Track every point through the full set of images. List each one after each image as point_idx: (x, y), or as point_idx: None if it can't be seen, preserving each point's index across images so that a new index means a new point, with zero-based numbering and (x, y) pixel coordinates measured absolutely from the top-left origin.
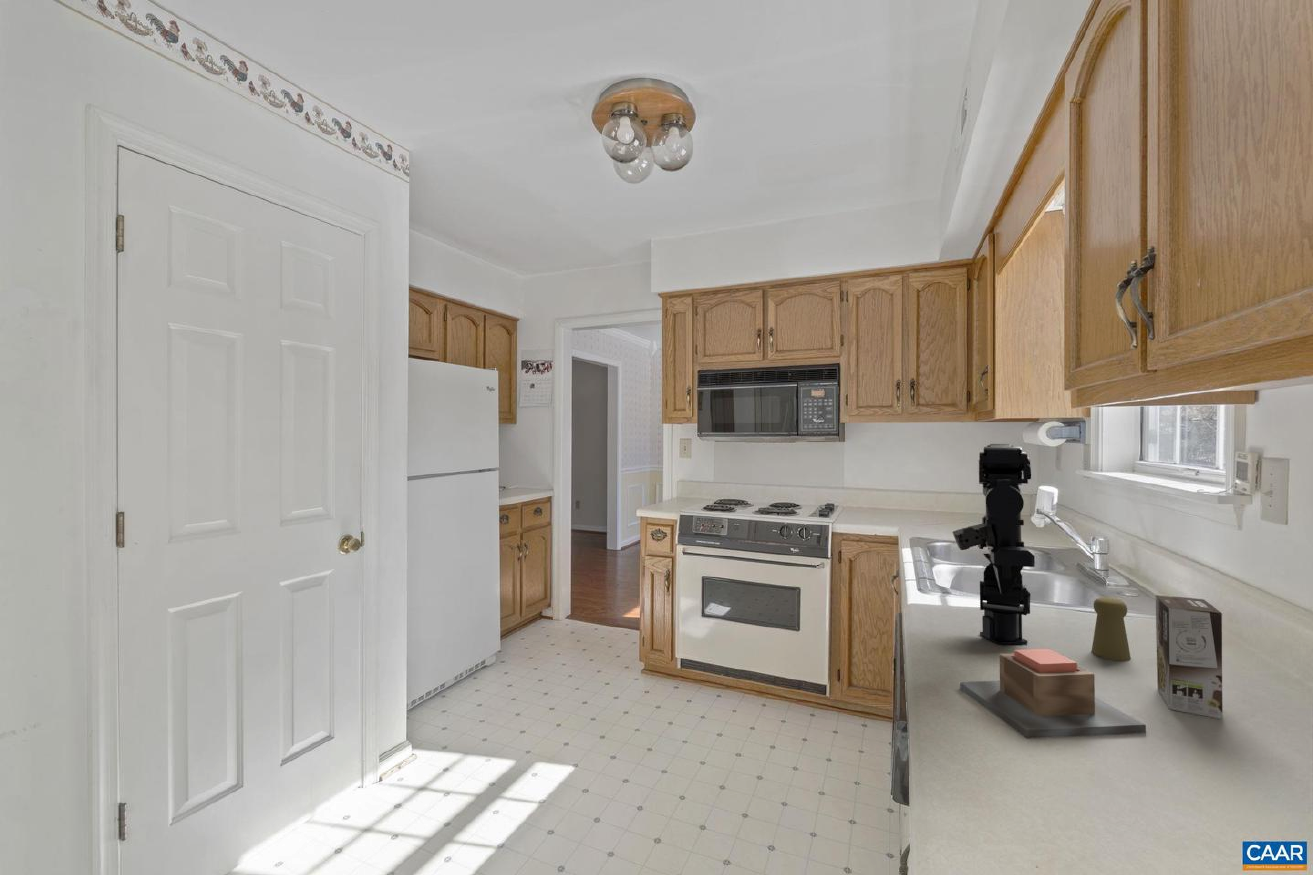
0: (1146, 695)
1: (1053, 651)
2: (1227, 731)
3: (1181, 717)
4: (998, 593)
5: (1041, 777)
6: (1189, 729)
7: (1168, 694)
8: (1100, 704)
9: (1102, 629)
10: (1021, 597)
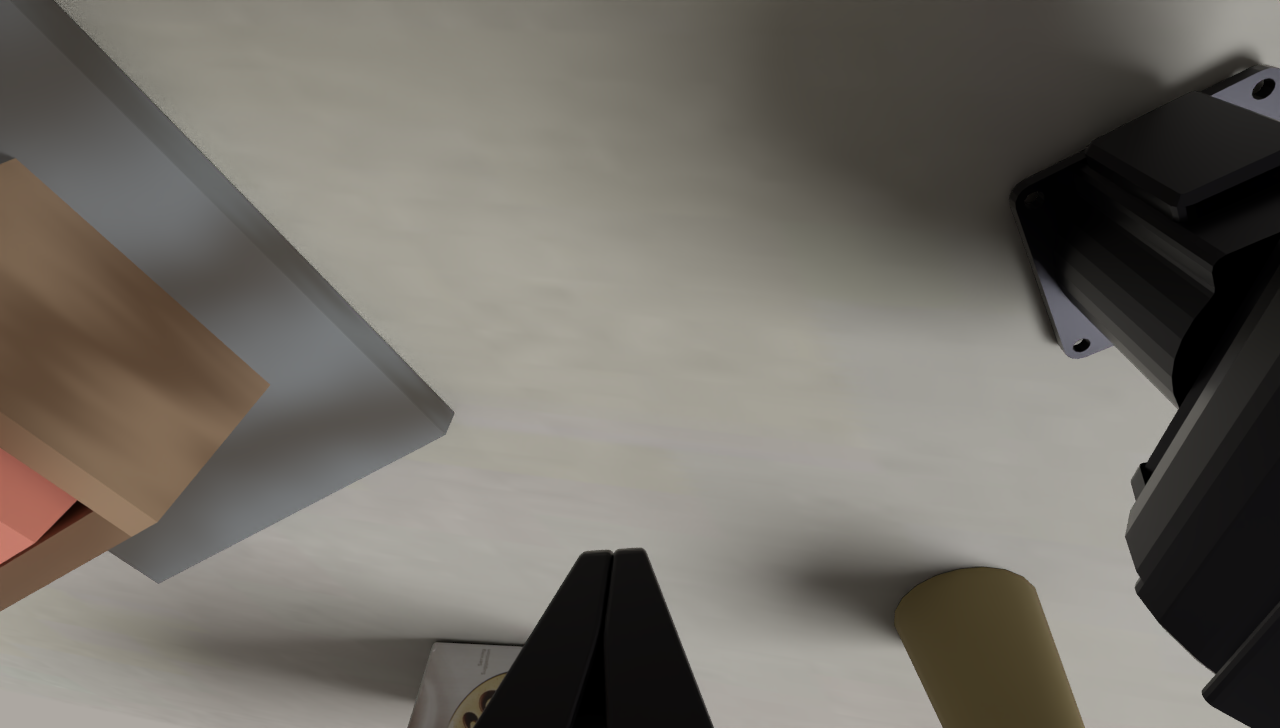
0: (531, 617)
1: (4, 557)
2: (364, 696)
3: (392, 647)
4: (1268, 440)
5: None
6: (307, 642)
7: (433, 683)
8: (230, 511)
9: (980, 710)
10: (1136, 592)
